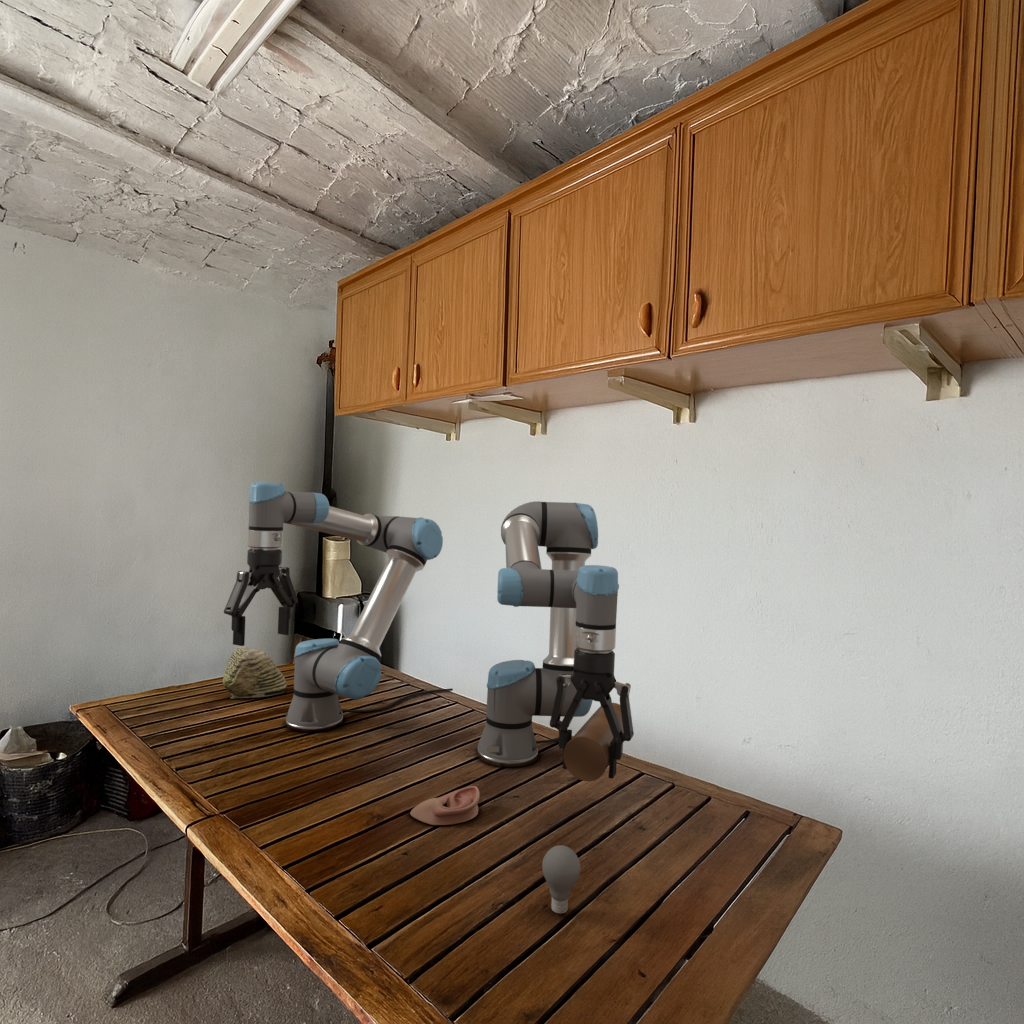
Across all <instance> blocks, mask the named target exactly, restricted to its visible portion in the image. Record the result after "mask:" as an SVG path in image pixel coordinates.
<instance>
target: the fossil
mask: <svg viewBox="0 0 1024 1024" xmlns="http://www.w3.org/2000/svg"><path fill="white" fill-rule="evenodd" d="M222 676H223V677H222V685H223V687H224V688H225V690H226V691H228V693H229V698H230V699H250V698H264V697H271V696H275V695H281V694H284V693H285V691H286V689H287V687H288V686H287V680H286V678H285V676H284V674H283V673H282V672H281V669H279V668H278V667H277V665H276V663H275V662H274V660H273V659H272V658H271V657H270V656H269V655H268V654H267V653H266V652H265V650H264V649H263V648H260V647H258V648H251V647H247V646H246V647H245V646H238V647H237V648H236V649H235V650H233V651H232V653H231V656H230V657H229V659H228V660H227V663H226V666H225V668H224V671H223V675H222Z"/></svg>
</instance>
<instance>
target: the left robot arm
mask: <svg viewBox="0 0 1024 1024" xmlns="http://www.w3.org/2000/svg"><path fill="white" fill-rule="evenodd" d="M284 524H288V525H292V526H296V527H300V528H304V529H308V530H312V531H316V532H319V533H325V534H330V535H333V536H338V537H341V538H346V539H350V540H354V541H356V542H357V543H358V544H359V545H361V546H364V547H368V548H371V549H374V550H378V551H380V552H383V553H385V554H386V555H387V557H388V559H387V562H386V563H385V566H384V568H383V569H382V571H381V573H380V575H379V578H378V579H377V581H376V583H375V584H374V585H375V586H374V587H373V589H372V591H371V593H370V595H369V598H368V599H367V601H366V602H365V605H364V607H363V609H362V611H361V613H360V615H359V617H358V619H357V621H356V623H355V625H354V627H353V628H352V631H351V633H350V634H349V635H348V636H344V637H342V638H341V640H340V641H339V639H337V638H317V639H316V638H315V639H308V640H304V641H300V642H299V643H298V644H297V645H296V646H295V650H294V655H293V657H294V672H293V673H294V674H293V695H292V696H293V697H292V699H291V702H290V704H289V708H288V711H287V712H285V726H286V728H287V729H289V730H291V731H294V732H295V731H296V732H301V733H316V732H325V731H329V730H332V729H335V728H337V727H339V726H340V725H342V723H343V722H344V714H343V713H351V714H352V713H355V714H357V713H358V714H359V713H371V712H377V711H383V710H385V709H388V708H390V707H392V706H394V705H395V704H397V703H400V702H402V701H404V700H407V699H409V698H412V697H415V696H419V695H425V694H431V693H439V692H440V693H441V692H453V691H454V690H453V689H454V688H439V689H438V688H437V689H431V690H423V691H419V692H415V693H411V694H408V695H405V696H403V697H401V698H398V699H396V700H394V701H392V702H390V703H389V704H387V705H384V706H381V707H375V708H369V709H367V708H366V709H347V708H342V706H341V702H340V699H339V697H340V698H343V699H350V700H356V701H357V700H362V699H364V698H367V697H368V696H369V695H371V694H372V693H373V692H374V691H375V690H376V688H377V687H378V685H379V683H380V681H381V678H382V665H381V662H380V661H381V658H382V653H381V650H380V647H381V645H382V643H383V641H384V639H385V637H386V635H387V633H388V631H389V629H390V627H391V625H392V622H393V620H394V619H395V616H396V615H397V612H398V610H399V609H400V605H401V604H402V602H403V599H404V598H405V596H406V593H407V591H408V589H409V587H410V585H411V583H412V581H413V579H414V577H415V575H416V573H417V572H419V571H423V569H424V568H425V566H426V565H427V562H428V561H430V560H434V559H435V558H437V557H438V556H439V555H440V554H441V552H442V549H443V544H444V537H443V535H442V534H443V533H442V530H441V527H440V526H439V524H438V523H437V522H436V521H434V520H433V519H431V518H424V517H421V516H420V517H412V516H411V517H410V516H399V515H377V514H373V513H365V514H360V513H356V512H353V511H349V510H346V509H342V508H338V507H336V506H332V505H330V502H329V500H328V497H327V496H326V495H325V494H323V493H320V492H314V491H312V492H310V491H309V492H307V491H287V490H286V487H285V484H284V483H283V482H268V481H267V482H266V481H255V482H253V483H251V485H250V490H249V498H248V531H247V532H248V533H247V547H248V548H249V549H248V550H247V555H246V556H247V557H246V559H247V560H246V561H247V562H246V564H247V565H248V566H249V567H248V568H249V569H248V571H245V570H238V571H236V572H237V573H236V579H235V583H234V585H233V588H232V591H231V592H230V594H229V597H228V600H227V601H226V605H225V607H224V609H223V614H225V615H228V616H231V626H230V627H231V631H232V646H233V645H234V646H238V647H245V644H246V643H245V639H246V616H245V615H244V613H245V612H246V610H247V609H248V607H249V605H250V604H251V602H252V600H253V599H254V597H255V596H256V594H257V593H259V592H260V591H261V590H265V589H270V590H271V592H272V593H273V595H274V596H275V597H276V599H277V601H278V602H279V603H280V605H281V606H278V618H277V622H278V623H277V635H283V636H288V635H289V634H290V621H291V618H292V617H291V616H292V615H291V613H292V608H295V606H296V604H298V602H299V600H298V596H297V593H296V591H295V587H294V585H293V582H292V579H291V574H290V567H288V566H281V565H282V564H283V550H282V549H280V548H282V547H283V532H284Z"/></svg>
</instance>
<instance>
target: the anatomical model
mask: <svg viewBox="0 0 1024 1024" xmlns="http://www.w3.org/2000/svg"><path fill="white" fill-rule="evenodd" d="M480 794H481V793H480V789H479V788H478V786H475V785H471V786H465V787H462V788H459V789H456V790H454V791H451V792H449V793H447V794H444V795H442V796H439V797H432V798H429V799H426V800H424V801H422V802H420V803H419V804H417V805H415V806H414V808H412V809H411V811H410V812H409V814H410V816H411V817H412V818H414V819H415V820H417V821H419V822H422V823H425V824H427V825H431V826H446V825H456V824H460V823H465V822H468V821H470V820H472V819H474V818H476V817H477V816H478V814H479V805H478V803H479V801H480V796H481V795H480Z"/></svg>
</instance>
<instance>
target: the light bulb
mask: <svg viewBox="0 0 1024 1024" xmlns="http://www.w3.org/2000/svg"><path fill="white" fill-rule="evenodd" d="M541 868H542V869H541V870H542V874H543V877H544V879H545V881H546V883H547V885H548V888H549V894H550V896H551V903H550V905H551V906H550V909H551V910H552V911H553V912H554V913H556V914H564V913H566V912H568V908H569V907H568V905H569V898H570V896H571V892H572V889H573V887H574V886H575V885H576V883H577V881H578V880H579V877H580V874H581V861H580V859H579V857H578V855H577V854H576V852H575V851H574V850H573V849H571V847H569V846H566V845H561V844H560V845H555V846H553V847H551V848H550V849H549V850H548V851H547V852H546V853H545V855H544V856H543V859H542V864H541Z"/></svg>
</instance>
